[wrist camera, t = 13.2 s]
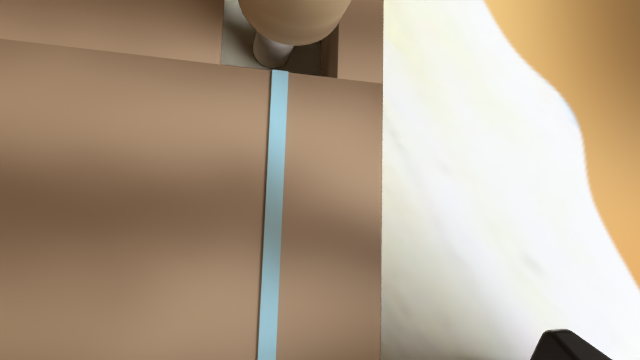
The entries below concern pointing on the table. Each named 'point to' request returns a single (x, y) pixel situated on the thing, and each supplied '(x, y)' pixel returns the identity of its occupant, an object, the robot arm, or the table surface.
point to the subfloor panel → (185, 188)
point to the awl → (289, 25)
